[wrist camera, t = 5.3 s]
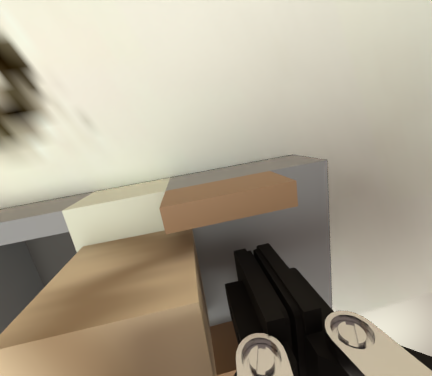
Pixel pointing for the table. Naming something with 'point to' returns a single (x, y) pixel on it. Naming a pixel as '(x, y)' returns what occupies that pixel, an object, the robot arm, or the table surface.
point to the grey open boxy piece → (175, 222)
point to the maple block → (117, 314)
